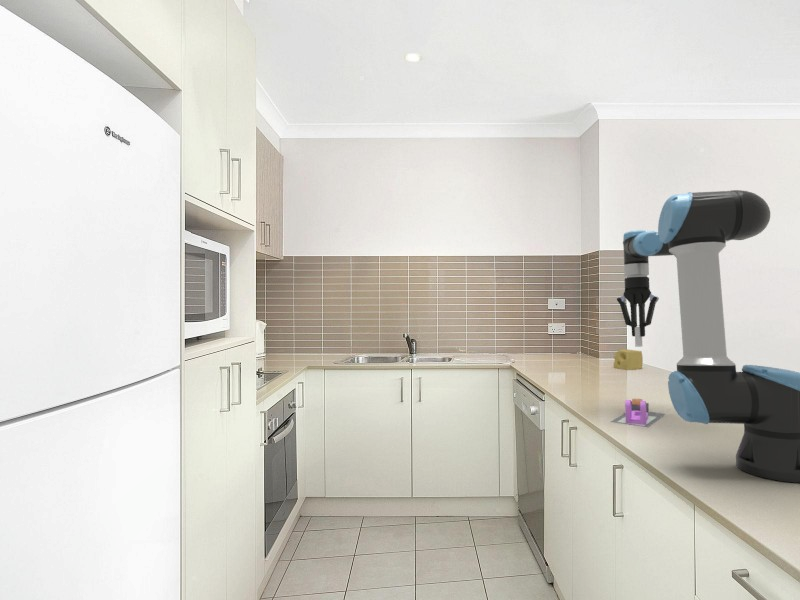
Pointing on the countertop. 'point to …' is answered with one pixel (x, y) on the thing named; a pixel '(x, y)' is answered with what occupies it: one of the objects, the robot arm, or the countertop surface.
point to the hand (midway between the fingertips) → (638, 346)
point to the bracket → (636, 413)
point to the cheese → (628, 359)
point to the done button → (636, 401)
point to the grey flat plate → (651, 419)
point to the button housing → (637, 407)
